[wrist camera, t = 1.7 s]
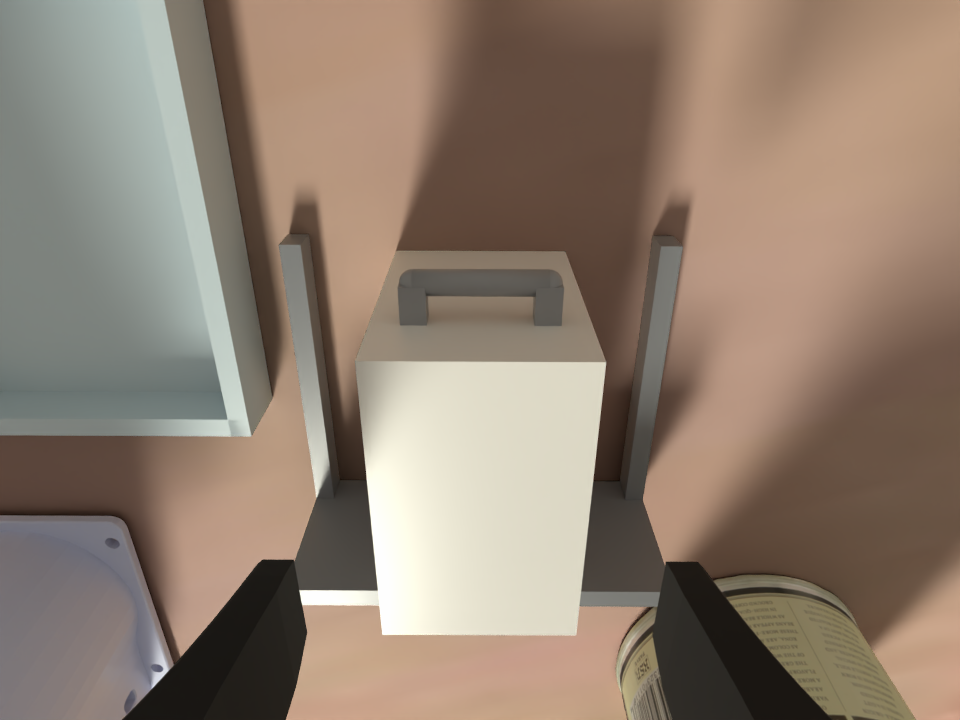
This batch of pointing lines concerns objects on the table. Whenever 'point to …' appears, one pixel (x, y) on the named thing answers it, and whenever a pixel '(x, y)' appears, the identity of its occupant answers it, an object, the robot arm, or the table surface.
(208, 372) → the tray
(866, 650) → the coffee can
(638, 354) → the dock
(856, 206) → the table surface
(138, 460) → the table surface
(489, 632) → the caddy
